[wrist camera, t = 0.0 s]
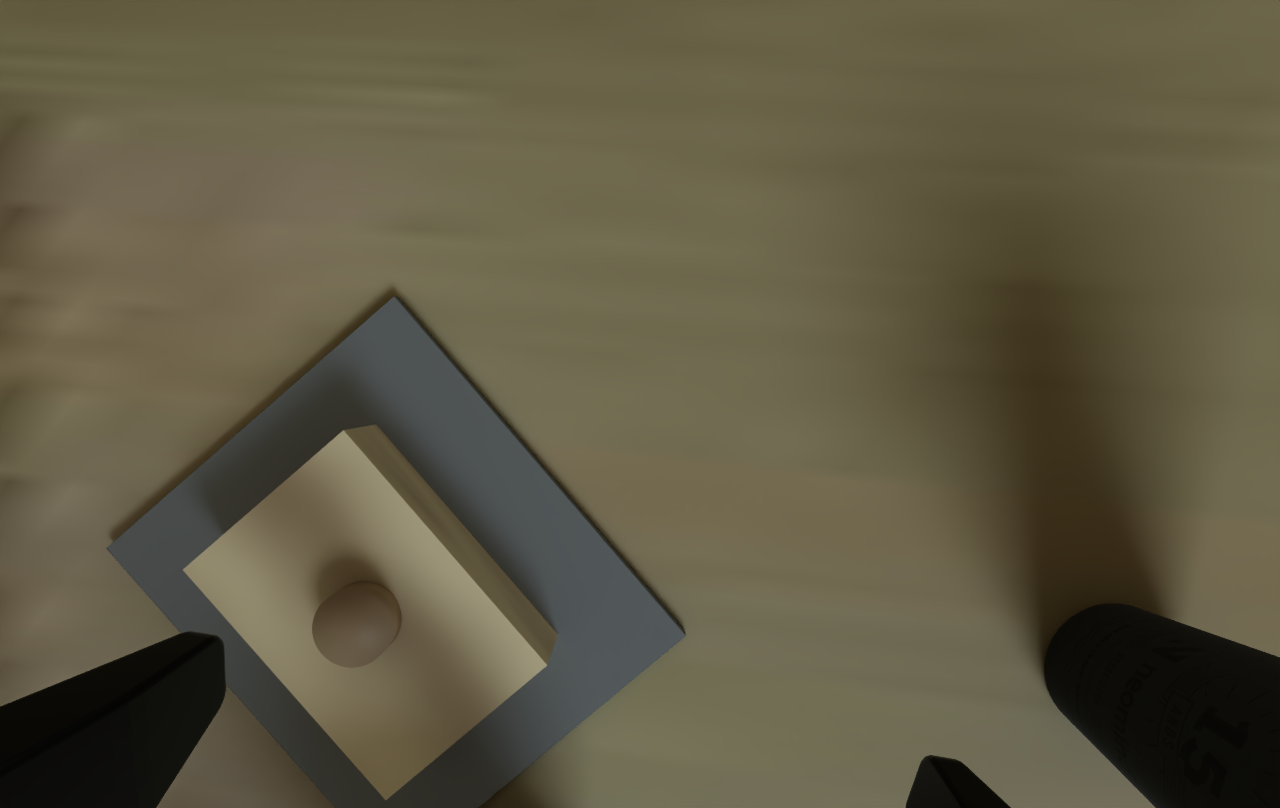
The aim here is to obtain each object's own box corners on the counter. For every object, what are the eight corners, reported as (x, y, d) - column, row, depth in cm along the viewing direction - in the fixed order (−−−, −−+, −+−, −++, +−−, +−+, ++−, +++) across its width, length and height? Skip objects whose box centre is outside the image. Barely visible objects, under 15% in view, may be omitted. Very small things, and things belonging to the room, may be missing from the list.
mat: (400, 867, 24) (395, 875, 24) (115, 545, 24) (106, 548, 24) (685, 631, 24) (685, 635, 23) (398, 297, 24) (394, 296, 23)
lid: (413, 755, 24) (373, 821, 20) (232, 549, 24) (159, 579, 20) (558, 634, 24) (542, 679, 20) (376, 424, 23) (328, 433, 20)
